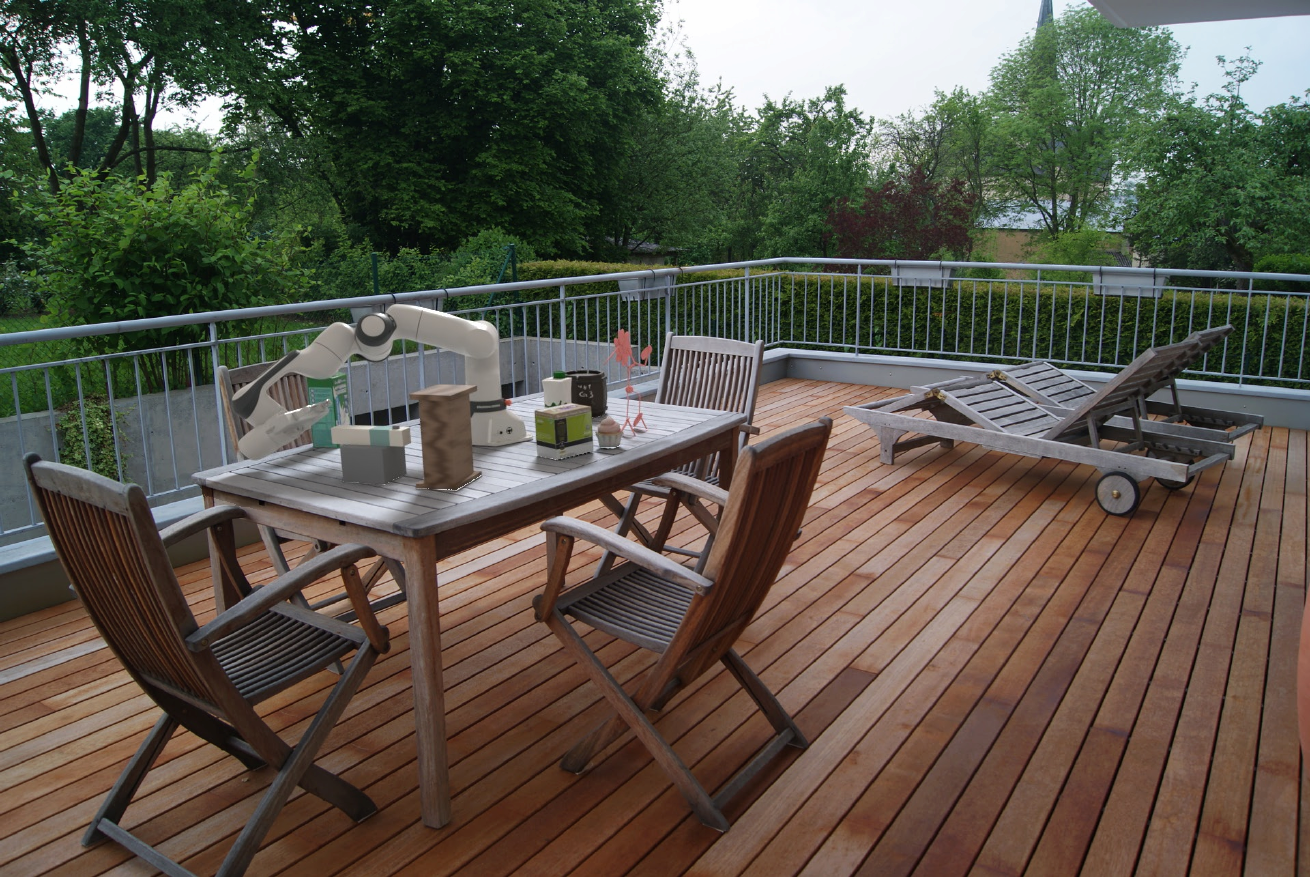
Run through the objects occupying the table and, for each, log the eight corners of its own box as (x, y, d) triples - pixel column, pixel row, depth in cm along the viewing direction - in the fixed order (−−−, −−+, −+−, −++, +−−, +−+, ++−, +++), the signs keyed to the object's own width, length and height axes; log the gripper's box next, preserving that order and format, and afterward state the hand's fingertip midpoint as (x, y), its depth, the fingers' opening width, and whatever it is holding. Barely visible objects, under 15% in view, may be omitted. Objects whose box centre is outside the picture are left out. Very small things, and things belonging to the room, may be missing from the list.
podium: (343, 482, 264) (339, 447, 262) (366, 471, 275) (363, 437, 273) (384, 484, 261) (382, 449, 258) (406, 473, 272) (404, 439, 270)
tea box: (573, 447, 301) (571, 402, 298) (594, 452, 294) (592, 406, 291) (535, 456, 291) (533, 408, 288) (556, 461, 284) (554, 413, 281)
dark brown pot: (587, 407, 367) (586, 367, 363) (617, 414, 354) (616, 372, 350) (549, 414, 355) (548, 372, 351) (579, 421, 342) (578, 378, 338)
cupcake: (618, 442, 307) (618, 412, 305) (628, 448, 299) (627, 417, 296) (591, 445, 304) (590, 414, 302) (599, 451, 295) (598, 420, 293)
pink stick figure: (660, 425, 332) (656, 325, 324) (626, 441, 309) (621, 333, 302) (621, 423, 339) (617, 325, 331) (585, 438, 316) (580, 333, 308)
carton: (332, 443, 266) (330, 425, 265) (341, 440, 271) (339, 421, 269) (403, 446, 261) (401, 427, 260) (411, 443, 265) (409, 424, 264)
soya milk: (575, 428, 329) (573, 371, 325) (563, 434, 321) (561, 375, 317) (553, 426, 332) (551, 370, 328) (540, 432, 324) (538, 374, 320)
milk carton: (338, 447, 305) (331, 371, 300) (312, 447, 307) (305, 370, 301) (352, 441, 314) (346, 366, 308) (327, 440, 316) (320, 366, 310)
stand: (415, 488, 256) (409, 394, 250) (443, 474, 271) (437, 384, 266) (456, 491, 253) (450, 395, 247) (481, 476, 268) (476, 385, 263)
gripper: (255, 424, 262) (291, 401, 257) (300, 410, 281) (334, 389, 277) (267, 444, 262) (303, 421, 258) (311, 429, 281) (345, 407, 277)
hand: (319, 404), depth 267 cm, fingers open, 8 cm apart
